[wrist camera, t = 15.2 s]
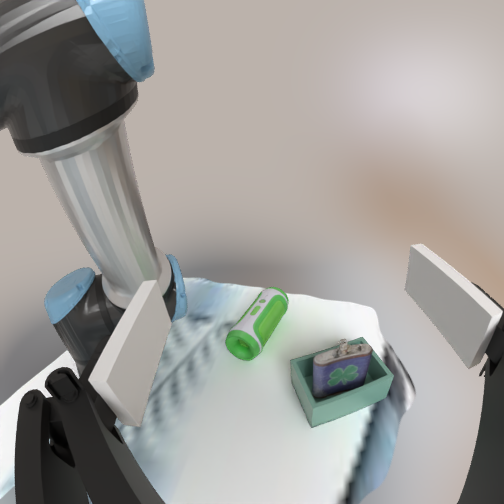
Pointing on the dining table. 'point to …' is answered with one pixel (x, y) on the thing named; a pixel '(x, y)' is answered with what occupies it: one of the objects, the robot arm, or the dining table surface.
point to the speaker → (257, 324)
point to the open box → (346, 401)
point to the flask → (340, 369)
